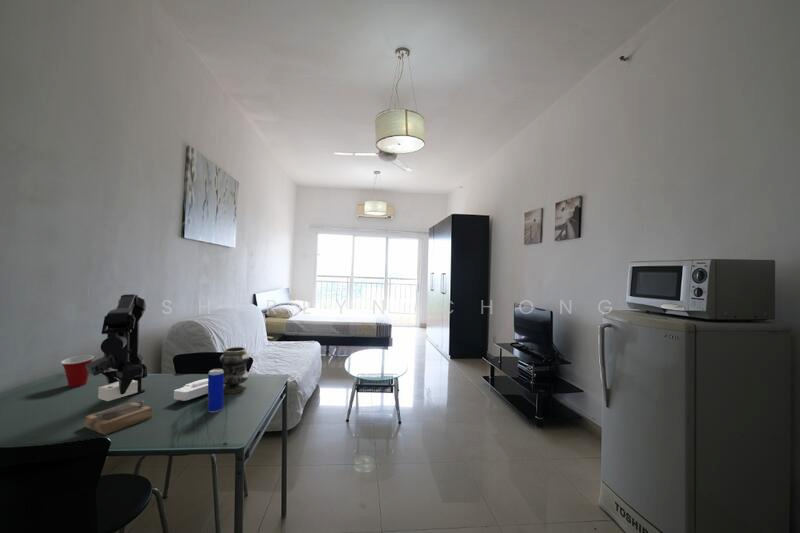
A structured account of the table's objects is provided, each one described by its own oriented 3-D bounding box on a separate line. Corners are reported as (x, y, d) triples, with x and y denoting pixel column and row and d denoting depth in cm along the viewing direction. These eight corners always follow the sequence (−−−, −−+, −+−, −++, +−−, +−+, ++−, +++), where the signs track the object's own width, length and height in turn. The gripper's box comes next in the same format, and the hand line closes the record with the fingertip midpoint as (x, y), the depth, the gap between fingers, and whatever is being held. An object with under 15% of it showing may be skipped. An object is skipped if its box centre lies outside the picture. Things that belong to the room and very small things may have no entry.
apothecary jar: (245, 393, 146) (246, 351, 146) (215, 395, 143) (216, 352, 143) (251, 384, 158) (251, 345, 158) (222, 385, 155) (223, 346, 155)
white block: (98, 398, 116) (98, 385, 116) (128, 389, 124) (128, 378, 124) (107, 401, 114) (107, 388, 114) (137, 392, 122) (137, 380, 122)
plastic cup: (53, 387, 148) (54, 360, 148) (82, 379, 159) (83, 354, 159) (71, 390, 145) (71, 362, 145) (99, 382, 156) (100, 356, 156)
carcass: (84, 426, 114) (85, 410, 114) (132, 411, 127) (132, 396, 127) (104, 434, 109) (104, 418, 109) (151, 417, 122) (152, 402, 122)
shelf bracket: (211, 383, 160) (233, 386, 156) (160, 399, 136) (184, 403, 133) (212, 371, 160) (234, 374, 157) (161, 385, 137) (185, 389, 133)
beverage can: (211, 407, 131) (212, 368, 131) (225, 407, 132) (226, 368, 132) (204, 413, 126) (205, 372, 126) (219, 412, 127) (220, 372, 127)
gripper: (75, 349, 115) (74, 395, 115) (105, 356, 107) (104, 406, 107) (114, 343, 125) (113, 385, 125) (144, 349, 117) (143, 394, 117)
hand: (117, 392), depth 119 cm, fingers closed on white block, 5 cm apart
